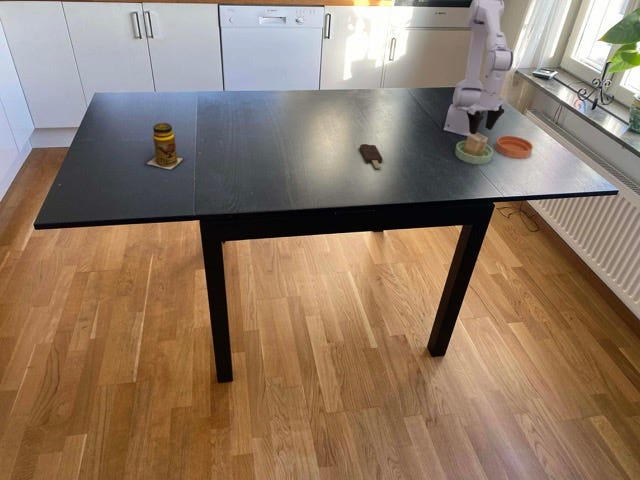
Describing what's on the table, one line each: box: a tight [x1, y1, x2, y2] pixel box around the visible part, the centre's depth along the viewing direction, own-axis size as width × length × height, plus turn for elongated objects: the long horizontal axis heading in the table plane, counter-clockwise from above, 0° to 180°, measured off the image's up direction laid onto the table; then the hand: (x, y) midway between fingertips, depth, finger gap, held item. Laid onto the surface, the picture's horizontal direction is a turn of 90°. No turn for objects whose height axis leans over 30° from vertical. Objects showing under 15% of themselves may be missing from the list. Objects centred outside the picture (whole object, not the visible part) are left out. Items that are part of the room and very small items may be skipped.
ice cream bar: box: [359, 143, 383, 170], centre depth 164 cm, size 5×2×15 cm
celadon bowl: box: [454, 140, 494, 165], centre depth 169 cm, size 12×12×3 cm
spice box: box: [464, 131, 489, 157], centre depth 168 cm, size 5×5×7 cm
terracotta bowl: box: [494, 135, 534, 160], centre depth 174 cm, size 12×12×3 cm
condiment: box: [146, 122, 184, 170], centre depth 151 cm, size 7×8×12 cm
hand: (480, 130), depth 165 cm, fingers open, 7 cm apart
